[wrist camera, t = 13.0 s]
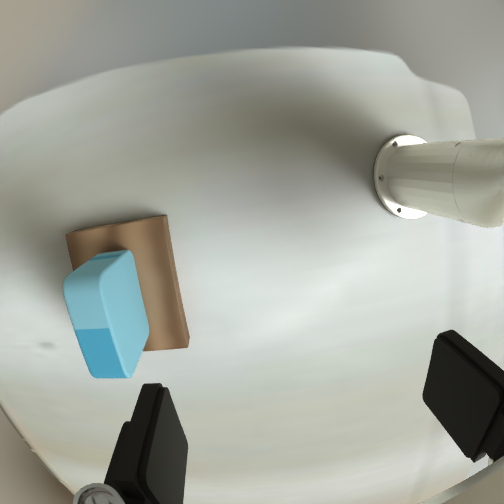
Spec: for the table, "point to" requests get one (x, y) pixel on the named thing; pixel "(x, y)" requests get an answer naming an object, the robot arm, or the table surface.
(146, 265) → the base plate
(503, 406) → the robot arm
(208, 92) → the table surface
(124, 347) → the data package
